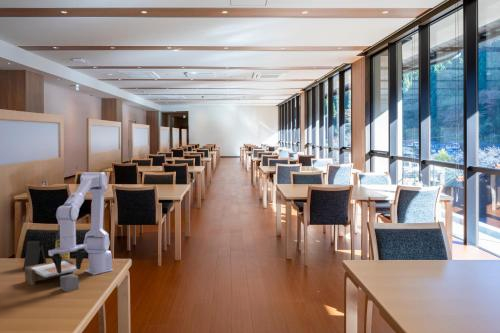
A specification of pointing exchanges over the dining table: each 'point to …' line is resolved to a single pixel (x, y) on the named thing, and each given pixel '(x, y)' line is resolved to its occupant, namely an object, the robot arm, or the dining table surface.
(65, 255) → the sauce bottle
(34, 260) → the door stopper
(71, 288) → the stone
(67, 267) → the trapdoor
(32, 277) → the trapdoor frame
